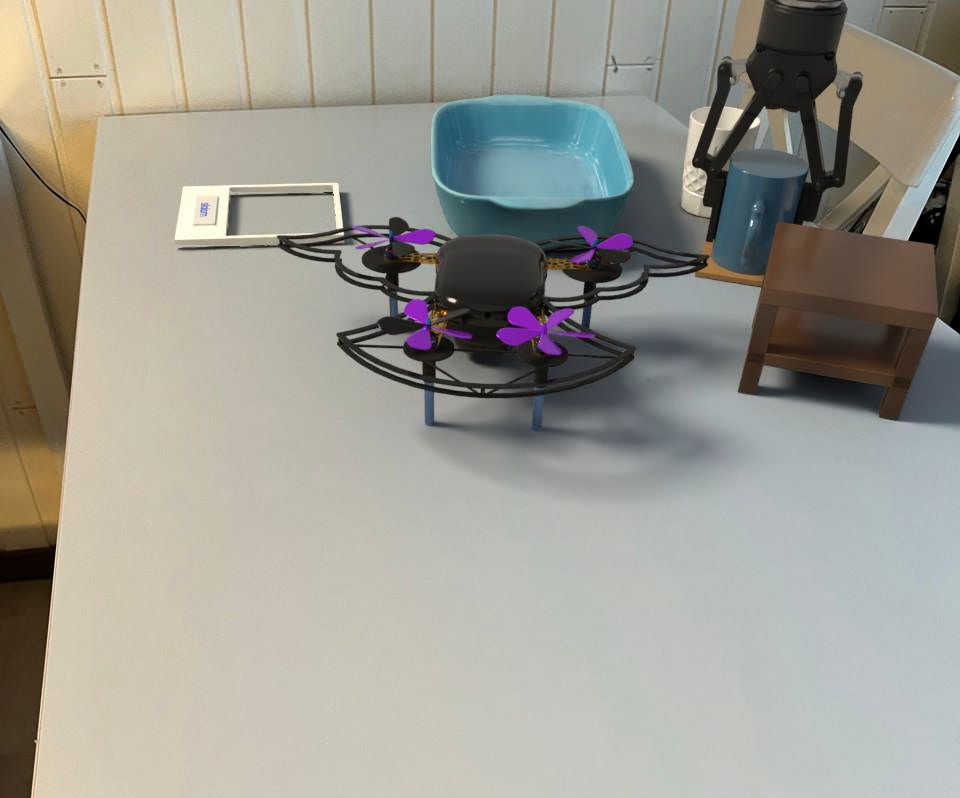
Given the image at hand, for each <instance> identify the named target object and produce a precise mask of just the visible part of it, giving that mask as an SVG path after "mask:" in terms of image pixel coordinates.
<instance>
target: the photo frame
mask: <svg viewBox="0 0 960 798" xmlns="http://www.w3.org/2000/svg"><path fill="white" fill-rule="evenodd" d="M325 190H333V193H332V194H334V196H333V205H334V204H335V206H334V215H335V214H336V216H335V225H336V229H340V228H344V223H343V214H342V206H341V197H340V187H339V182H313V183H309V182H308V183H275V184H274V183H271V184H233V185H231V184H230V185H229V184H228V185H226V184H225V185H194V186H193V185H192V186H189V185H187V186H185V185H184V186H183V187H182V193H181V197H180V204H179V210H178V216H177V222H176V227H175V235H174V245H265V246H264V247H266V246H267V245H270V246H278V244H279V239H278V238H277V235H309V234H317V233H318V232H312V233H310V232H307V233H277V234H273V233H272V234H246V235H245V234H244V235H243V234H242V235H228V236H227V228H228V229H229V223H228V214H229V215H230V211H229V199H230V200H231V198H230V191H232V192H238V191H239V192H325ZM228 212H229V213H228ZM342 236H345V232H342V233H338V234H334V235H330V236H324V237H318V238H310V239H289V240H291V241H292V242H294V243H297V244H300V243H313V242H319V241H326V240H330V239H334V238H338V237H342ZM283 244H285V243H283ZM332 244H345V240H343V241H339V242H336V243H332ZM332 244H331V245H332ZM267 247H268V246H267Z"/></svg>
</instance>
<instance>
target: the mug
mask: <svg viewBox="0 0 960 798" xmlns="http://www.w3.org/2000/svg"><path fill="white" fill-rule="evenodd" d="M809 173H810V169H809V163H808V161H806V160H805V159H803V158H802V157H800V156H798V155H795V154H792V153H790V152H786V151H783V150H777V149H770V148H754V149H747V150H742V151H738V152H736V153H734V154H733V155H732V156H731V157H730V161H729V165H728V170H727V175H726V181H725V186H724V191H723V195H722V200H721V205H720V210H719V215H718V220H717V225H716V230H715V235H714V240H713V245H712V250H711V258H712V260H713V261H714V262H715V263H716V264H717V265H719V266H720V267H722V268H724V269H727V270H729V271H732V272H736V273H740V274H747V275H764V274H765V270H766V266H767V262H768V258H769V254H770V250H771V246H772V242H773V237H774V233H775V229H776V225H777V222H783V223H790V224H795V222H796V218H797V214H798V210H799V206H800V203H801V199H802V195H803V191H804V187H805V184H806V182H807V179H808V176H809Z"/></svg>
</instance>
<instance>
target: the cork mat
mask: <svg viewBox="0 0 960 798" xmlns="http://www.w3.org/2000/svg"><path fill="white" fill-rule="evenodd" d="M713 240H714V239H713ZM712 245H713V243H712V242H706V240H705V241H704V244H703V247H702V250H701V253H700V254H704V255H710V257H709V258H708V259H707V263H708V266H707V267H705V268H704V269H702V270H699V271H697V272H694V277H698V278H704V279H711V280H717V281H722V282H723V281H724V282H729V283H735V284H742V285H747V286H755V287H760V288H761V287H762V282H763V278H764V275H747V274H740V273H736V272H732V271H729V270H727V269H724V268H722V267H720V266H719V265H717V264H716V263H715V262H714V261H713V260H712V258H711V250H712ZM700 263H703V262H700Z"/></svg>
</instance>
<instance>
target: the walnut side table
mask: <svg viewBox="0 0 960 798" xmlns="http://www.w3.org/2000/svg"><path fill="white" fill-rule="evenodd" d="M935 257H936V256H935V244H934V243H933V244H932V243H927V242H926V243H925V242H920V241H919V242H917V241H911V240H906V239H897V238H892V237H884V236H878V235H871V234H864V233H857V232H851V231H845V230H844V231H843V230H838V229H830V228H822V227H818V226H817V227H816V226H810V225H804V224H803V225H797V224H790V223H783V222H777V225H776V229H775V233H774V237H773V242H772V246H771V250H770V254H769V258H768V262H767V266H766V270H765V274H764V278H763V282H762V287H760V291H759V294H758V299H757V303H756V306H755V307H756V308H755V310H754V311H755V312H754V315H753V320H752V324H751V333H750V337H749V342H748V345H747V346H748V347H747V351H746V356H745V359H744V362H743V363H744V364H743V366H742V372H741V376H740V379H739V384H738V389H737V393H741V394H746V395H752V396H755V395H756V394H757V391H758V387H759V384H760V379H761V375H762V372H763V367H765V366H766V367H770V368H771V367H772V368H777V369H783V370H788V371H793V372H801V373H805V374H812V375H816V376H824V377H829V378H835V379H840V380H841V379H842V380H845V381H853V382H856V383H857V382H858V383H862V384H864V383H865V384H869V385H875V386H881V387H886V388H885V391H884V394H883V396H882V398H881V402H880V404H879V407H878V418H880V419H887V420H892V421H898V420H899V418H900V415H901V412H902V410H903V407H904V405H905V402H906V399H907V397H908V395H909V394H908V393H909V391H910V389H911V387H912V384H913V381H914V378H915V376H916V373H917V371H918V368H919V366H920V364H921V361H922V358H923V355H924V353H925V350H926V347H927V345H928V342H929V339H930V337H931V334H932V331H933V329H934V326H935V324H936V322H937V319H938V317H939V308H938V307H939V306H938V305H939V304H938V291H937V274H936V273H937V272H936V259H935Z"/></svg>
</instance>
